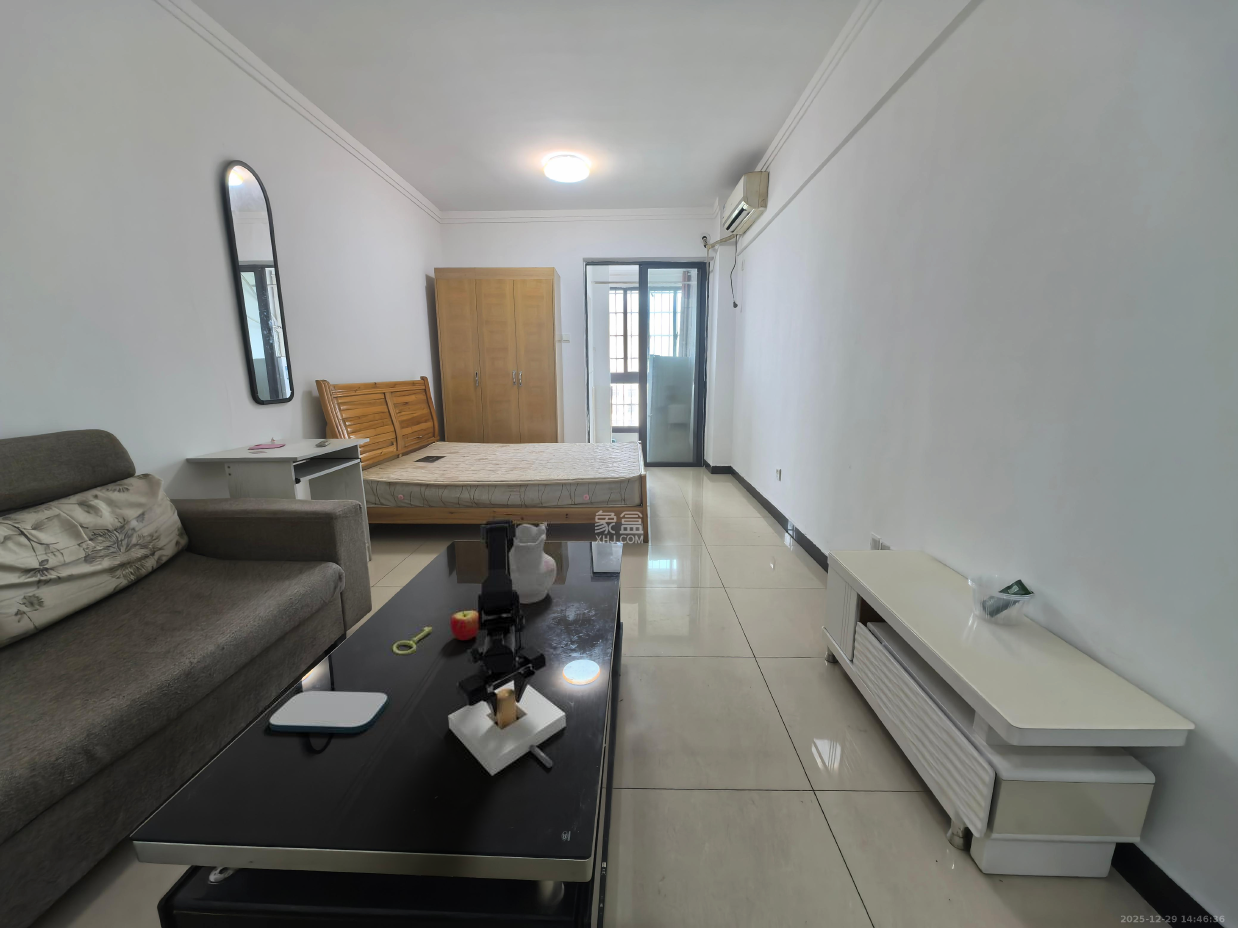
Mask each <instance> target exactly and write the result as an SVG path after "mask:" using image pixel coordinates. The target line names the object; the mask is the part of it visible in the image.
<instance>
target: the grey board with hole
mask: <svg viewBox="0 0 1238 928" xmlns="http://www.w3.org/2000/svg"><path fill="white" fill-rule="evenodd" d="M507 688H509V689H512V690H514V679H513V680H512V681H510V682H508V683H506V684H504V685H502V686H500V687H499V688H497V689H495V690H493V691H494V692H495V693H497V692H499V691H500V690H502V689H507ZM515 703H516V716H517V718H518V719H517V721H516V722H514V723H513V724H511V725H509V726H508V727H506V728H504V729H503V730H501V729H500V728H499V727H498V724H496V723H497V722H498V718H497V716H494V715H493V714H492V713H491V711H490V709H489V707H488V705H487V703H486V702H483V701H481V702H479V703H477V704H475V705H474V706H469V705H468V704H466V705H465V706H463V707H462V708H460V709H458V710H456V711H454V712H452V713H451V714H449V715H447V718H448V728H449V729H450V730H451V731H452V732H453V734H454V735H455V736H456V737H457V738H458V739H459V740H460V742H462V744H463V745H464V746H465V748H467V750H469V752H470V753H471V754H472V755H473V756H474V757H475V758H476V759H477V761H478V762H479V763H480V764H481V765H482V767H483V768H484V769H485V770H486V771H487V772H488V773H489V774H490V775H491V776H494V775H495V774H497V773H498V772H500V771H501V770H503V769H505V768H506V767H507V766H508V765H511V764H512V763H513V762H515V761H516V760H517V759H519V758H520V757H522V756H524V755H525V754H526V753H528V752H531V753H532V754H533V755H534V756H536V757H537V758H538V759H539V760H540V761H541V762H542V763H543V764H544V765H545V766H546V768H548V769H549V768H550V769H551V768H552V766H553V761H552V760H551V759H550V758H549V757H548V756H547V755H546V754H545V753H544V752H542V751H541V750H540V749H539V748H538V747H537V746H539V745H540V744H541V743H543V742H544V741H546V740H548V738H551V736H553V735H554V734H557V733H558V732H560V731H561V730H562V729H563V728H565V727H566V726H567V722H566V721H567V719H566V713H565V712H564V711H563V710H561V709H560V708H559V707H558V706H556V705H555V704H553V703H552V702H551V701H550V700H549V699H547V698H546V697H545V696H543V695H542V694H541V693H539V691H537V690H536V689H535V688H533V687H532V686H531V685H529V684H528V685H527V687H526V689H525V691H524V694H523V696H522V698H521V700H520V702H519V703H517V702H516V701H515Z"/></svg>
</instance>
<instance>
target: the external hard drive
mask: <svg viewBox="0 0 1238 928" xmlns="http://www.w3.org/2000/svg"><path fill="white" fill-rule="evenodd" d="M388 705H389V696H388V695H387V694H386V693H384V692H373V691H372V692H371V691H369V692H367V691H337V690H336V691H331V690H308V691H302V692H300V693H298V694H295V695H294V696H292V697H291V698H290V699H288V700H287V701H286V702H285V703H284V704H283V705H282V706H281V707H279V708H278V710H276V711H275V712H274V713H273V714H272V715H271V717H270V718H269V720H268V725H269V728H270V729H271V730H273V731H276V732H291V733H292V732H294V733H326V734H328V733H329V734H357V733H361V732H364V731H366V730H368V729H369V728H371V727H372V726H373V725H374V724H375V722H376V721H377V720H378V719H379V718H380V717H381V715H382V713H383V712H384V711H385V710H386V709H387V707H388Z"/></svg>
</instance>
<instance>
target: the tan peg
mask: <svg viewBox="0 0 1238 928" xmlns="http://www.w3.org/2000/svg"><path fill="white" fill-rule="evenodd" d="M497 718H498V721H497V726H498V727H499V728H500V729H501V730H503V729H504V728H506V727H508V726H509V725H511V724H513V723H514V722H516V721H517V720H518V719H517V718H518V717H517V716H516V703H515V692H514V690H512V689H509V688H507V689H502V690H500V691H499V692H497Z"/></svg>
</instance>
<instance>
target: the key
mask: <svg viewBox="0 0 1238 928" xmlns="http://www.w3.org/2000/svg"><path fill="white" fill-rule="evenodd" d="M422 630H423V632H421V633H420V634H418V635H417V636H416V637H413V638H411V639H410V640H401V641H400V640H399V641H398V642H396V643H395V644H393V646H392V651H393V653H395V654H397V655H400V656H401V655H402V656H406V655H411V654H413V653H414V652H416V651H417V645H416V644H417V643H418V641H419V640H421V639H423V638H424V637H426V636H427V635H428V634H429V633H431V632H432V631H433V630H434V629H433V627H431V626H429V627H428V626H425V627H423V629H422ZM399 646H409V647H412V648H411V649H410V650H404V651H402V650H398V649H397V647H399Z"/></svg>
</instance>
